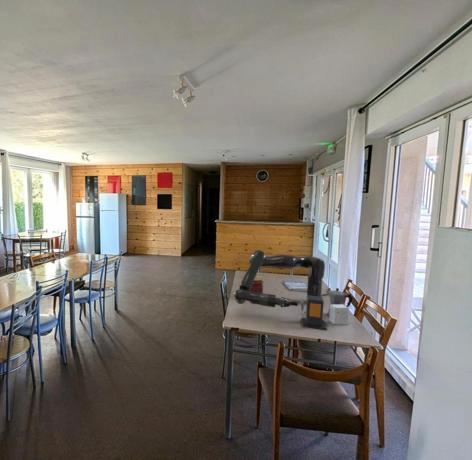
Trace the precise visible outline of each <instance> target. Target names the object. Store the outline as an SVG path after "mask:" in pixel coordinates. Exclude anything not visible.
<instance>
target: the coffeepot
mask: <svg viewBox="0 0 472 460" xmlns="http://www.w3.org/2000/svg"><path fill="white" fill-rule="evenodd" d="M325 292H326V294H328V295H327V296H328V298H329V303H330V304H329V307H328V311H327V316H328V317H330V305H335V304H343V305H344V302H345V298H349V299H348V302H347V303H346V304H345V306H346V307H348V308H349V307H350V306H351V304H352V302H353V300H354V297H353V296H352V295H351V294H349V293H346V292H344V291H340V288H339V287H336V288H335V290H330V291H329V290H325Z"/></svg>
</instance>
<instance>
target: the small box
mask: <svg viewBox="0 0 472 460" xmlns="http://www.w3.org/2000/svg"><path fill="white" fill-rule="evenodd" d="M345 305H346V304H345ZM345 305H344V303H343V304H335V305H330V304H329V307H330V316H329V322H330V323H331V324H332V325H335V326H339V325H340V326H342V325H343V326H344V325H345V326H346V325H349V324H348V323H349V322H348V321H349V307H346V306H345Z"/></svg>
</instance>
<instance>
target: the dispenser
mask: <svg viewBox="0 0 472 460" xmlns="http://www.w3.org/2000/svg"><path fill="white" fill-rule="evenodd" d="M306 299H307V303H306V307H305V311H302V313H303V315H305V317H301V322H302V327H304V328H309V329H316V330H323V331H327V326H326V323H325V320H323V317H324V316H323V315H324V299H323V296H321V297H319V296H310V295H307V294H306Z"/></svg>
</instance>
